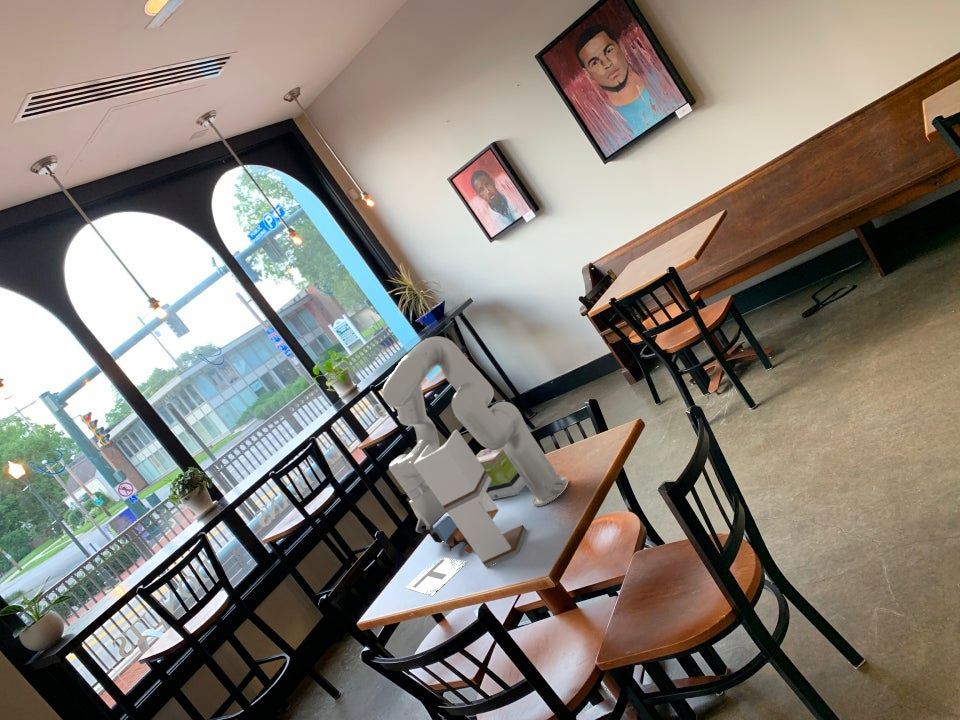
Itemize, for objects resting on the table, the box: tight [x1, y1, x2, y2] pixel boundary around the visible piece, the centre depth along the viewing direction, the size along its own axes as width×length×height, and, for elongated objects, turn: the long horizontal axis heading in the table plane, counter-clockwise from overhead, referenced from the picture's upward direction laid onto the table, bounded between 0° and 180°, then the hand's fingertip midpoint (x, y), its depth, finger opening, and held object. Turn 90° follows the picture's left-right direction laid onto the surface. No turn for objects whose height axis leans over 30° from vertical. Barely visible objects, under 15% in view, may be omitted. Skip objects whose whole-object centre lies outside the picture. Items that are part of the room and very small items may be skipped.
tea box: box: [475, 448, 527, 501], centre depth 240 cm, size 15×10×15 cm, turn 49°
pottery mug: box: [445, 527, 474, 555], centre depth 218 cm, size 12×10×8 cm
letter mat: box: [405, 556, 466, 597], centre depth 214 cm, size 20×14×1 cm
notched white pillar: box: [413, 429, 527, 568], centre depth 198 cm, size 11×11×35 cm
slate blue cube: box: [433, 515, 457, 543], centre depth 235 cm, size 6×6×6 cm
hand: (449, 533), depth 235 cm, fingers open, 7 cm apart
